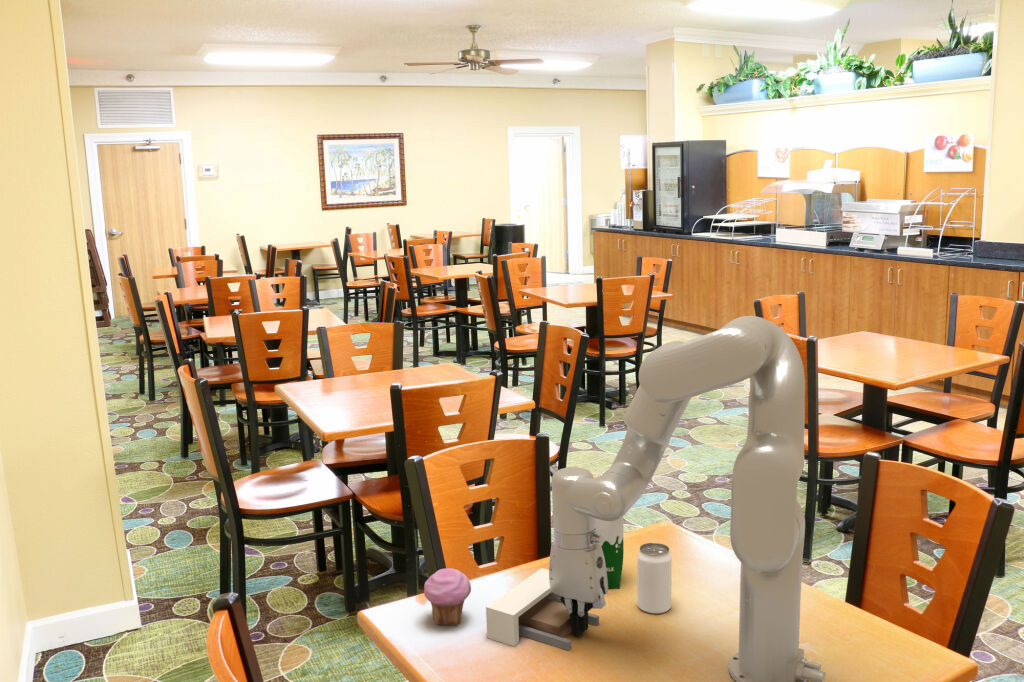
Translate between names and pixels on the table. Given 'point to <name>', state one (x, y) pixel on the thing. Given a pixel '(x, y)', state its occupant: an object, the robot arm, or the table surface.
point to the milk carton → (612, 549)
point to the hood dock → (517, 602)
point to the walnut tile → (547, 618)
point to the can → (654, 578)
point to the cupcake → (447, 595)
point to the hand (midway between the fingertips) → (579, 632)
